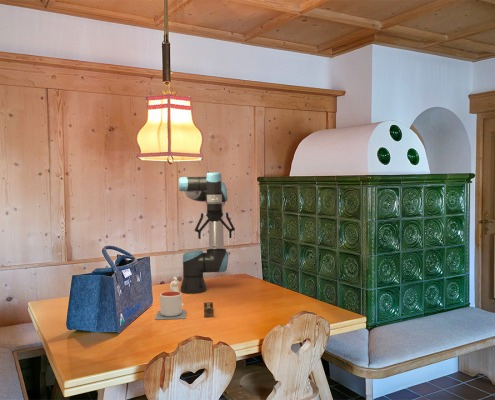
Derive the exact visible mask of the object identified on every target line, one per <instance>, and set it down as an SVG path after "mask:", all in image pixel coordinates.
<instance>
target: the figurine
mask: <svg viewBox="0 0 495 400" xmlns="http://www.w3.org/2000/svg"><path fill="white" fill-rule="evenodd" d="M179 284H180V281H179V280H178V278H177V277H176V276H173V281H171V282H170V285H169V287H168V288H169V292H180V289H179ZM181 303H182V307H183V306H184V302H183V301H182V300H181Z"/></svg>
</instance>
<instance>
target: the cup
mask: <svg viewBox="0 0 495 400" xmlns="http://www.w3.org/2000/svg"><path fill="white" fill-rule="evenodd" d="M159 298H160V299H159V303H160V308H159V309H160V311H161V314H162V315H163V316H166V317H173V316H178V315H180V314H181V312H182V310H183V309H182V307H183V306H182V303H181V301H182V292H181V291H178V292H170V291H165V292H161V293H160V295H159Z"/></svg>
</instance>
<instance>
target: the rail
mask: <svg viewBox="0 0 495 400" xmlns="http://www.w3.org/2000/svg"><path fill="white" fill-rule="evenodd" d="M214 310H215V309H214V302H211V301H210V302H209V301H208V302H207V301H206V302H203V316H204V318H214V315H215V314H214Z"/></svg>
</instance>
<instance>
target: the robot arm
mask: <svg viewBox="0 0 495 400" xmlns="http://www.w3.org/2000/svg"><path fill="white" fill-rule="evenodd" d="M222 180H223V179H222V173H221V172H207V173H206V176H181V177H179V178H178V190H179V192H184V194H185V196H186V197H187V198H188V199H190V200H192V201H195V202H200V203H201V202H205V205H206V213H204V212H201V213H200V218H199V219H198V222H197V224H196V226H195V228H194V232H197V234H198V238H197V239H199V240H200V246H201V247H203V232H202V231H203V230H204V228H205V227H206V226H207V225H208V247H207V248H206V252H204V250H202V249H195V250H189V251H186V252H184V253H183V254H182V281H181V285H180V287H179V288H180V289H179V292H180V293H183V294H201V293H205V292H207V284H206V282H205V279H204V273H205V274H206V273H225V272H226V271H227V270H228V262H229V255H230V253H229V251H227V248H226V247H225V246H224V228H226V230H228V231H227V233H226V234H227V245H228V246H230V239H232V232H233V231H235V230H236V228H235V226H234V224H233V223H232V220H231V219H230V217H229V212H227V211H226V212H224V206H225V205H226V202H228V201H229V200H228V193H227V192H228V191H227V186H226V183H225V182H223V181H222ZM205 217H206V218H207V219H206V220H205V222H204V223H203V224H202V221H203V219H204V218H205ZM224 217H225V218H226V220H227V221H228V223H229V224H228V225H227V223H226V222H225V220H224ZM201 224H202V226H200V225H201ZM229 225H230V227H229ZM199 227H200V228H199Z"/></svg>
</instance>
